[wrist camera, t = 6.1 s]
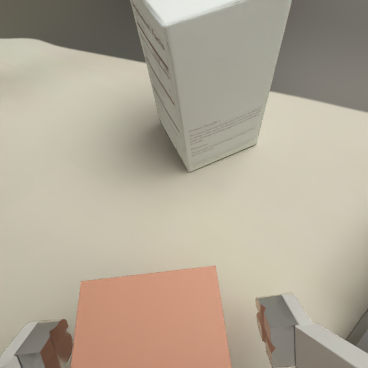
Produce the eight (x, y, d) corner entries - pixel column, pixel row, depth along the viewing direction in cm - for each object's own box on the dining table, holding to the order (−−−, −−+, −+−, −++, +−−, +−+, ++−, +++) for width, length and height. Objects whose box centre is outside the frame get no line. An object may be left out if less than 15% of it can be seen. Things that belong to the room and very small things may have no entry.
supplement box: (221, 99, 26) (229, -61, 15) (258, 146, 22) (303, -22, 12) (158, 122, 25) (120, -31, 14) (186, 175, 22) (162, 23, 11)
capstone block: (223, 366, 14) (238, 414, 7) (141, 374, 14) (62, 431, 7) (212, 293, 16) (215, 265, 9) (141, 301, 17) (81, 281, 9)
